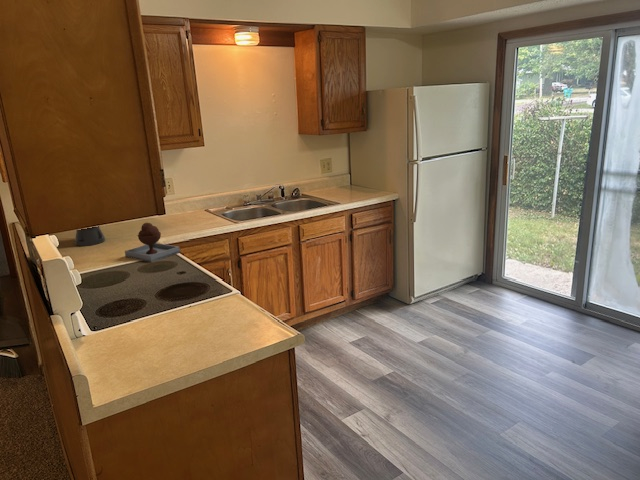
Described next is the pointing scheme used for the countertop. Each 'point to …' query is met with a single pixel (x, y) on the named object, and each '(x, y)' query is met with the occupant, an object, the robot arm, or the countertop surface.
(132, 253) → the serving tray
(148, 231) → the ice cream bowl
